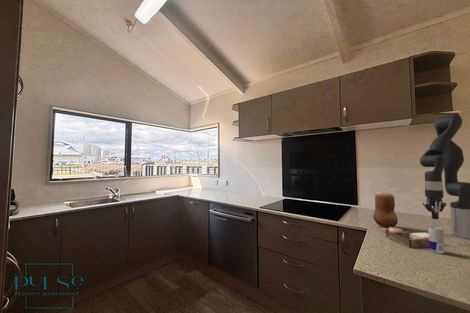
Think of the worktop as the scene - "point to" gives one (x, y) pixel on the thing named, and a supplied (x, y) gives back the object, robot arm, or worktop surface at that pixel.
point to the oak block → (384, 231)
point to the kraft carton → (419, 235)
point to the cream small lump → (395, 229)
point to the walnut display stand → (408, 240)
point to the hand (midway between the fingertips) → (435, 219)
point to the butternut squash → (385, 210)
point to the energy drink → (436, 240)
